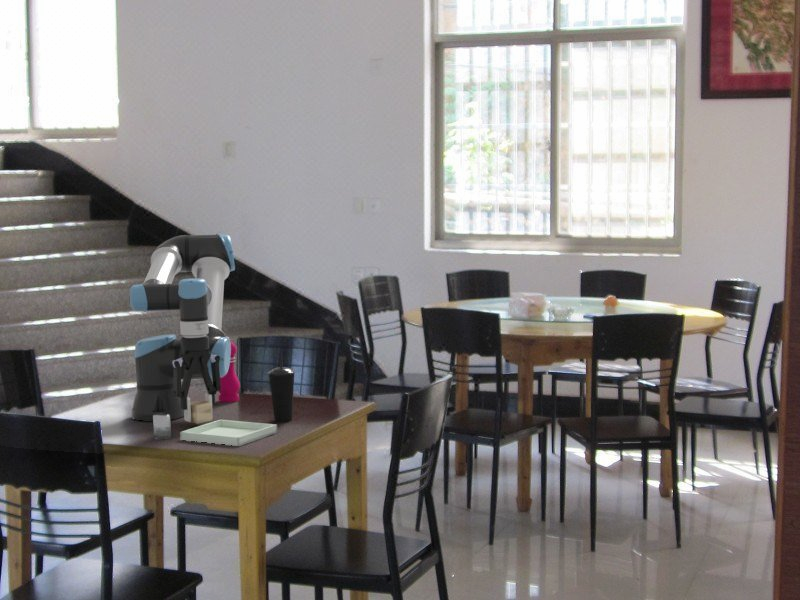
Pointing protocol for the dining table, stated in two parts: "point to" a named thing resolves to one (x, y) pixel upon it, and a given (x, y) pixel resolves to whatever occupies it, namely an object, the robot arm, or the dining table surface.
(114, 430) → the dining table surface
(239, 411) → the dining table surface
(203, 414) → the beech block
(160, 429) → the cylinder
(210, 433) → the tray
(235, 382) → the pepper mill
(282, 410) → the drinking cup
